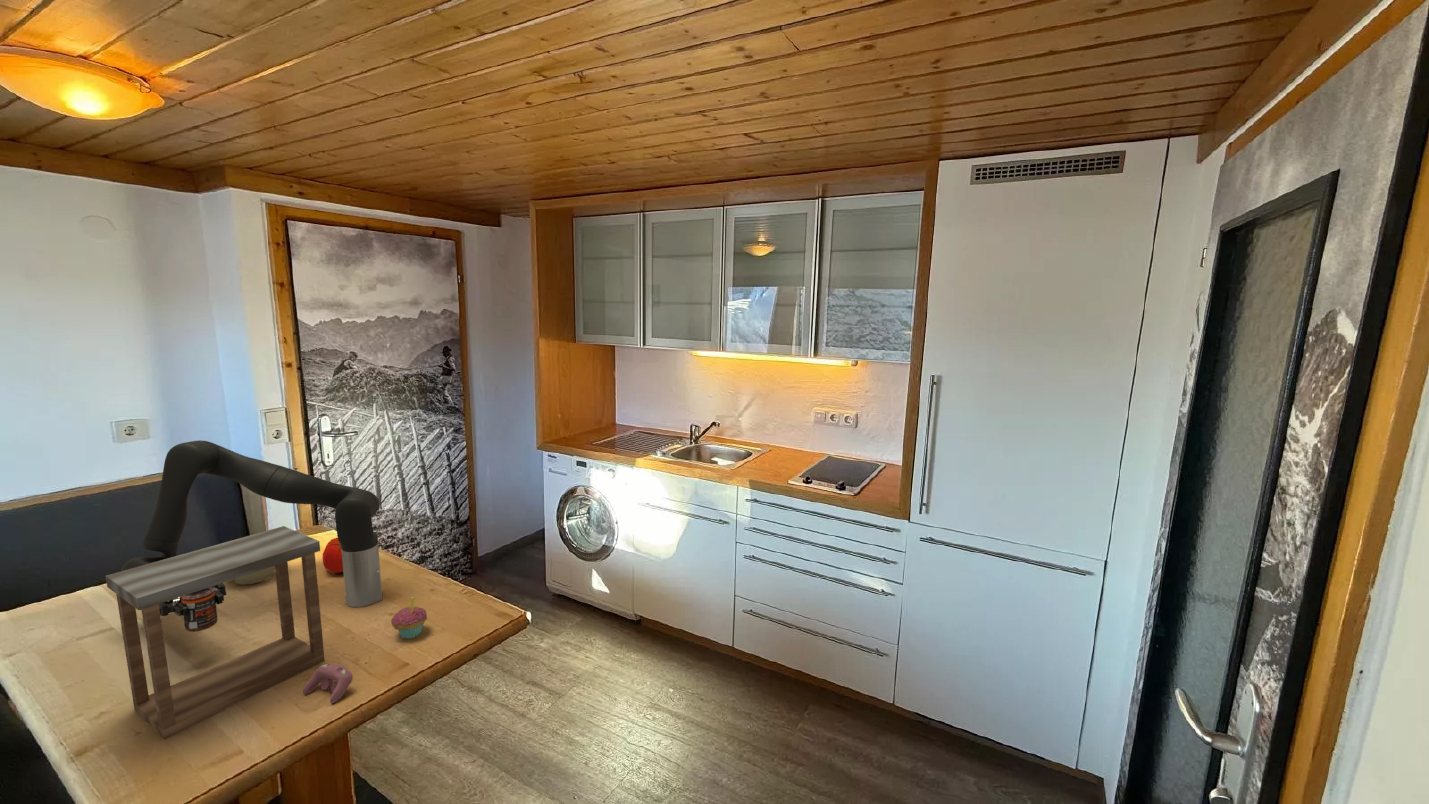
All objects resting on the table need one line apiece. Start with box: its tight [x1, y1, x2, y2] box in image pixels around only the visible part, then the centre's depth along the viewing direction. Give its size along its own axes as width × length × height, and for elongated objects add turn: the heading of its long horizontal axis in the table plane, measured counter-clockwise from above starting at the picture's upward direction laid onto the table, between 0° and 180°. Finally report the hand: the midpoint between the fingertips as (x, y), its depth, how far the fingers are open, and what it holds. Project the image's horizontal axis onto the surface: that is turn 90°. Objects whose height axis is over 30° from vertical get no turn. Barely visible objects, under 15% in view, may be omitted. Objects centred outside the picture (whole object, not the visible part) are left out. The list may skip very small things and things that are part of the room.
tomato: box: [322, 537, 343, 574], centre depth 187 cm, size 14×13×10 cm
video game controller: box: [302, 663, 354, 704], centre depth 129 cm, size 10×5×7 cm, turn 72°
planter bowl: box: [234, 566, 275, 585], centre depth 179 cm, size 16×16×11 cm
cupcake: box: [390, 595, 428, 639], centre depth 152 cm, size 9×8×12 cm
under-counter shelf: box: [105, 525, 326, 740], centre depth 128 cm, size 17×32×32 cm, turn 151°
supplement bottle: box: [181, 587, 218, 633], centre depth 136 cm, size 6×6×11 cm
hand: (203, 606), depth 135 cm, fingers closed on supplement bottle, 6 cm apart
